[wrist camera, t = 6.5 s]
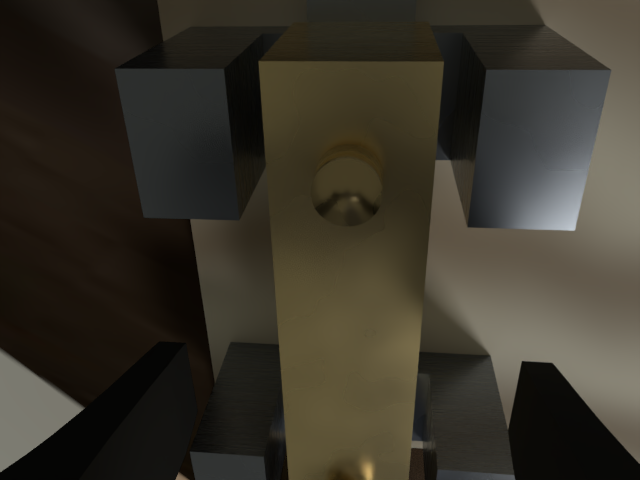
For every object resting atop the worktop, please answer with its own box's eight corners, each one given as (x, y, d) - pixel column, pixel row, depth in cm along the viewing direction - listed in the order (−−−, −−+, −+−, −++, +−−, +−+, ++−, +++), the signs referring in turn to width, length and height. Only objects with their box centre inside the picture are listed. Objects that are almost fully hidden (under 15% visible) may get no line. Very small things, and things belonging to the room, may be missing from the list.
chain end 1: (525, 147, 15) (574, 230, 11) (204, 142, 16) (143, 218, 12) (555, -33, 13) (629, -10, 9) (183, -28, 13) (100, -4, 10)
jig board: (693, 448, 20) (703, 467, 20) (228, 418, 22) (222, 434, 21) (916, -56, 12) (948, -54, 12) (162, -43, 14) (150, -41, 13)
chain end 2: (475, 446, 20) (496, 572, 16) (241, 430, 21) (208, 546, 17) (490, 355, 18) (518, 475, 14) (230, 341, 19) (189, 451, 15)
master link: (399, 434, 19) (403, 580, 15) (310, 428, 19) (289, 569, 15) (428, 21, 12) (448, 73, 8) (293, 22, 13) (248, 72, 9)
